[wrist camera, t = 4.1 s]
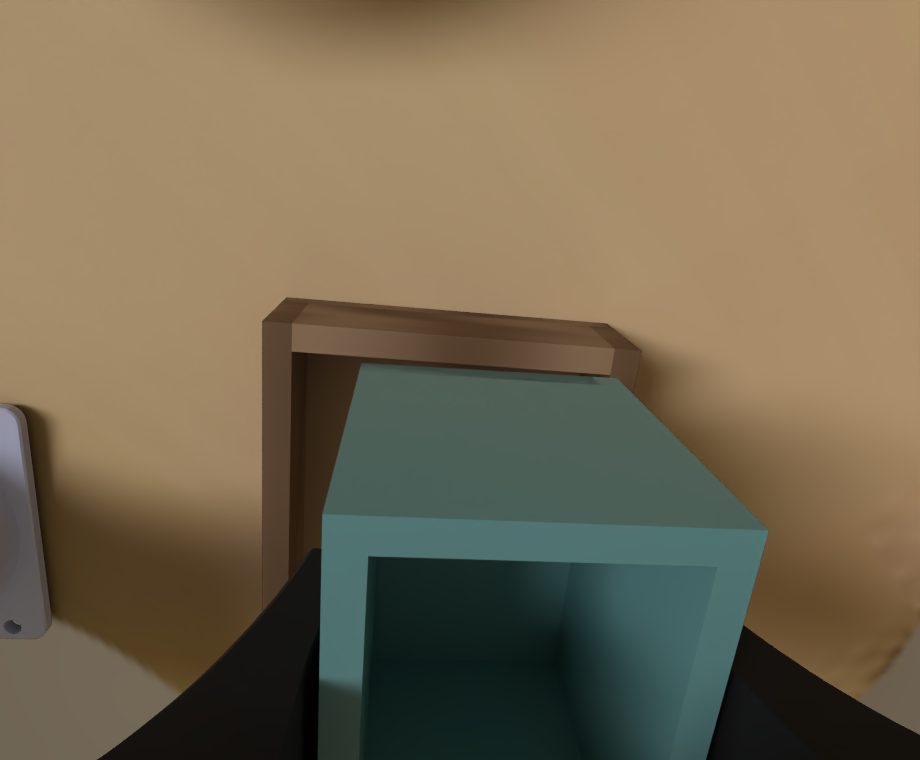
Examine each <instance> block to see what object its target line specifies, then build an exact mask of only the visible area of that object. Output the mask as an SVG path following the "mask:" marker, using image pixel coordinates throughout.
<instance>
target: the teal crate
mask: <svg viewBox="0 0 920 760" xmlns="http://www.w3.org/2000/svg"><path fill="white" fill-rule="evenodd" d="M768 533H769V530H768V529H767V528H766V527H765V526H764V525H763V524H762V523H761V522H760V521H759V520H758V519H757V518H756V517H755V516H754V515H753V514H752V513H751V512H750V511H749V510H748V509H747V508H746V507H745V506H744V505H743V504H742V503H741V502H740V501H739V500H738V499H737V498H736V497H735V496H734V495H733V494H732V493H731V492H730V491H729V490H728V489H727V488H726V487H725V486H724V485H723V484H722V483H721V482H720V481H719V480H718V479H717V478H716V477H715V476H714V475H713V474H712V473H711V472H710V471H709V470H708V469H707V468H706V467H705V466H704V465H703V464H702V463H701V462H700V461H699V460H698V459H697V458H696V457H695V456H694V455H693V454H692V453H691V452H690V451H689V450H688V449H687V448H686V447H685V446H684V445H683V444H682V443H681V442H680V441H679V440H678V439H677V438H676V437H675V436H674V435H673V434H672V433H671V432H670V431H669V430H668V429H667V428H666V427H665V426H664V425H663V424H662V423H661V422H660V421H659V420H658V419H657V418H656V417H655V416H654V415H653V414H652V413H651V412H650V411H649V410H648V409H647V408H646V407H645V406H644V405H643V404H642V403H641V402H640V401H639V400H638V399H637V398H636V397H635V396H634V395H633V394H632V393H631V392H630V391H629V390H628V389H627V388H626V387H625V386H624V385H623V384H622V383H621V382H620V381H619V380H618V379H617V378H604V377H587V376H571V375H554V374H538V373H521V372H505V371H488V370H471V369H455V368H438V367H422V366H405V365H388V364H372V363H361V367H360V371H359V375H358V379H357V382H356V386H355V390H354V394H353V398H352V402H351V406H350V409H349V413H348V417H347V421H346V425H345V429H344V433H343V436H342V440H341V444H340V448H339V452H338V456H337V460H336V463H335V467H334V471H333V475H332V479H331V483H330V487H329V490H328V494H327V498H326V502H325V506H324V510H323V514H322V558H321V609H320V660H319V712H318V760H706V757H707V754H708V750H709V746H710V743H711V739H712V736H713V732H714V728H715V725H716V721H717V717H718V714H719V710H720V707H721V703H722V699H723V696H724V692H725V688H726V685H727V681H728V678H729V674H730V670H731V667H732V663H733V660H734V656H735V652H736V649H737V645H738V641H739V638H740V634H741V631H742V627H743V623H744V620H745V616H746V612H747V609H748V605H749V602H750V598H751V594H752V591H753V587H754V583H755V580H756V576H757V573H758V569H759V565H760V562H761V558H762V555H763V551H764V547H765V544H766V540H767V536H768Z"/></svg>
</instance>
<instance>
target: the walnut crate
mask: <svg viewBox="0 0 920 760" xmlns="http://www.w3.org/2000/svg"><path fill="white" fill-rule="evenodd" d="M641 352H642V351H641V350H640V349H639V348H637V347H636V346H635V345H634V344H632V343H631V342H630V341H628V340H627V339H626V338H625V337H623V336H622V335H621V334H619V333H618V332H617V331H616V330H614V329H613V328H612V327H610V326H609V325H608V324H604V323H592V322H580V321H568V320H555V319H543V318H531V317H519V316H507V315H494V314H482V313H470V312H458V311H446V310H434V309H421V308H409V307H397V306H385V305H373V304H360V303H348V302H336V301H324V300H312V299H300V298H286V299H284V300H283V301H282V302H281V303H280V304H279V305H278V306H277V307H276V308H275V309H274V310H273V311H272V312H271V313H270V314H269V315H268V316H267V317H266V318H265V319H264V320H263V321H262V612H263V611H264V609H265V608H266V607H267V606H268V605H269V603H270V602H271V601H272V600H273V599H274V597H275V596H276V595H277V594H278V593H279V591H280V590H281V589H282V587H283V586H284V585H285V584H286V582H287V581H288V580H289V578H290V577H291V576H292V574H293V573H294V571H295V570H296V569H297V567H298V566H299V564H300V563H301V561H302V560H303V558H304V557H305V555H306V554H307V553H308V552H309V551H310V550H312V549H313V548H320V549H322V514H323V510H324V506H325V502H326V498H327V494H328V490H329V487H330V483H331V479H332V475H333V471H334V467H335V463H336V460H337V456H338V452H339V448H340V444H341V440H342V436H343V433H344V429H345V425H346V421H347V417H348V413H349V409H350V406H351V402H352V398H353V394H354V390H355V386H356V382H357V379H358V375H359V371H360V367H361V363H372V364H388V365H405V366H422V367H438V368H455V369H471V370H488V371H505V372H521V373H538V374H554V375H571V376H587V377H604V378H617V379H618V380H619V381H620V382H621V383H622V384H623V385H624V386H625V387H626V388H627V389H628V390H629V391H630V392H631V393H632V394H633V393H634V387H635V382H636V377H637V372H638V367H639V362H640V357H641Z"/></svg>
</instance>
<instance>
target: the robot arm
mask: <svg viewBox="0 0 920 760" xmlns="http://www.w3.org/2000/svg"><path fill="white" fill-rule="evenodd" d="M321 558H322V549H320V548H313V549H312V550H310V551H309V552H308V553H307V554H306V555H305V557H304V558H303V560H302V561H301V563H300V564H299V566H298V567H297V569H296V570H295V571H294V573H293V574H292V576H291V577H290V578H289V580H288V581H287V582H286V584H285V585H284V586H283V587H282V589H281V590H280V591H279V593H278V594H277V595H276V596H275V597H274V599H273V600H272V601H271V602H270V603H269V605H268V606H267V607H266V608H265V609H264V611H263V612H262V613H261V614H260V615H259V617H258V618H257V619H256V620H255V621H254V622H253V623H252V625H251V626H250V627H249V628H248V629H247V630H246V631H245V632H244V633H243V634H242V635H241V636H240V637H239V639H238V640H237V641H236V642H235V643H234V644H233V645H232V646H231V647H230V648H229V649H228V650H227V651H226V652H225V653H224V654H223V655H222V656H221V657H220V658H219V659H218V660H217V661H216V662H215V663H214V664H213V665H212V666H211V667H210V668H209V669H208V670H207V671H206V672H205V673H204V674H203V675H202V676H201V677H200V678H199V679H198V680H196V681H195V682H194V683H193V684H192V685H191V686H190V687H189V688H188V689H186V690H185V691H184V692H183V693H182V694H181V695H180V696H179V697H177V698H176V699H175V700H174V701H173V702H172V703H170V704H169V705H168V706H167V707H166V708H164V709H163V710H162V711H161V712H159V713H158V714H157V715H156V716H154V717H153V718H152V719H151V720H149V721H148V722H147V723H146V724H145V725H143V726H142V727H141V728H140V729H138V730H137V731H136V732H134V733H133V734H132V735H130V736H129V737H128V738H127V739H125V740H124V741H123V742H121V743H120V744H119V745H117V746H116V747H115V748H113V749H112V750H110V751H109V752H108V753H107V754H105V755H103V756H102V757H100V758H99V759H98V760H318V712H319V660H320V609H321ZM12 620H14V621H17V622H18V623H20V625H17V624H15V623H14V622H13V621H12ZM51 623H52V618H51V610H50V602H49V594H48V586H47V578H46V570H45V562H44V554H43V547H42V539H41V531H40V523H39V515H38V507H37V499H36V491H35V483H34V475H33V467H32V459H31V452H30V444H29V436H28V428H27V421H26V418H25V415H24V414H23V412H22V411H21V410H20V409H19V408H17V407H15V406H14V405H10V404H4V403H0V638H7V639H9V638H11V639H37V638H40V637H42V636H43V635H44V634H45V633H46V631H47V630H48V629H49V628H50V626H51ZM706 760H920V735H919V734H917V733H915V732H913V731H911V730H909V729H907V728H905V727H904V726H901V725H899V724H898V723H896V722H894V721H892V720H890V719H888V718H887V717H885V716H883V715H881V714H879V713H878V712H876V711H874V710H872V709H871V708H869V707H867V706H865V705H864V704H862V703H860V702H859V701H857V700H855V699H854V698H852V697H850V696H849V695H847V694H845V693H844V692H842V691H840V690H839V689H837V688H835V687H834V686H832V685H830V684H829V683H827V682H825V681H824V680H822V679H821V678H819V677H817V676H816V675H814V674H813V673H811V672H810V671H808V670H807V669H805V668H804V667H802V666H801V665H799V664H798V663H796V662H795V661H793V660H792V659H790V658H789V657H787V656H786V655H785V654H783V653H782V652H780V651H779V650H777V649H776V648H774V647H773V646H771V645H770V644H769V643H767V642H766V641H764V640H763V639H762V638H760V637H759V636H757V635H756V634H755V633H753V632H752V631H751V630H749V629H748V628H747V627H745V626H744V625H743V627H742V631H741V634H740V638H739V641H738V645H737V649H736V652H735V656H734V660H733V663H732V667H731V670H730V674H729V678H728V681H727V685H726V688H725V692H724V696H723V699H722V703H721V707H720V710H719V714H718V717H717V721H716V725H715V728H714V732H713V736H712V739H711V743H710V746H709V750H708V754H707V757H706Z"/></svg>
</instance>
